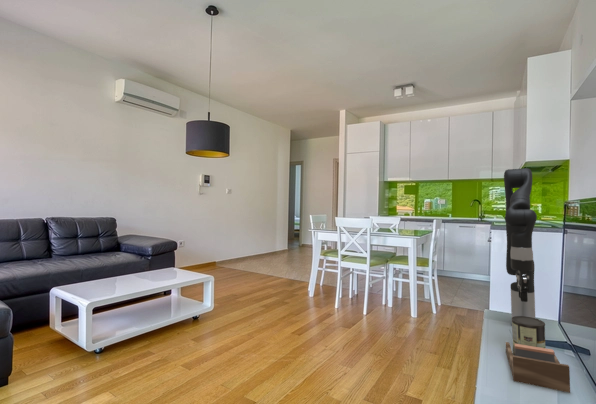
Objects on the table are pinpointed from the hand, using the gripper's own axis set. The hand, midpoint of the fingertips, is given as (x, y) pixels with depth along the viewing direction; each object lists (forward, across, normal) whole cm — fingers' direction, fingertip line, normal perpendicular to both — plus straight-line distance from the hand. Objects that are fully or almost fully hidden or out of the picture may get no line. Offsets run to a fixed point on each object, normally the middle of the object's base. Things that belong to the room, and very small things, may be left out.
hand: (523, 299), depth 126 cm
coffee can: (+20, +10, 0) cm, 22 cm away
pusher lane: (+19, +20, 0) cm, 28 cm away
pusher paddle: (+19, +20, 0) cm, 28 cm away
